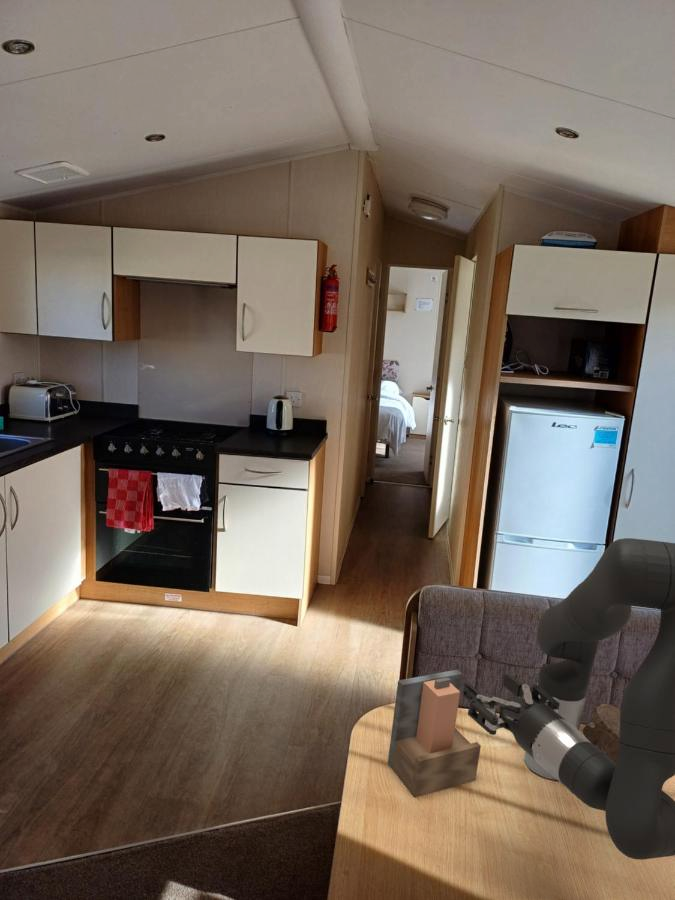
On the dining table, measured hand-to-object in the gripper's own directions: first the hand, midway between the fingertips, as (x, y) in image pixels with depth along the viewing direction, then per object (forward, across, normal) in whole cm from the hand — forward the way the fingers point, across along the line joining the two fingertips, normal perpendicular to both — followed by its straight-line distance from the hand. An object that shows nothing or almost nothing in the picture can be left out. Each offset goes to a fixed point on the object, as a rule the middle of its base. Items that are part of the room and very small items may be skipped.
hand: (485, 683), depth 111 cm
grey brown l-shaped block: (+12, -1, +27) cm, 29 cm away
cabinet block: (+12, -1, +21) cm, 24 cm away
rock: (+3, -39, +27) cm, 48 cm away
